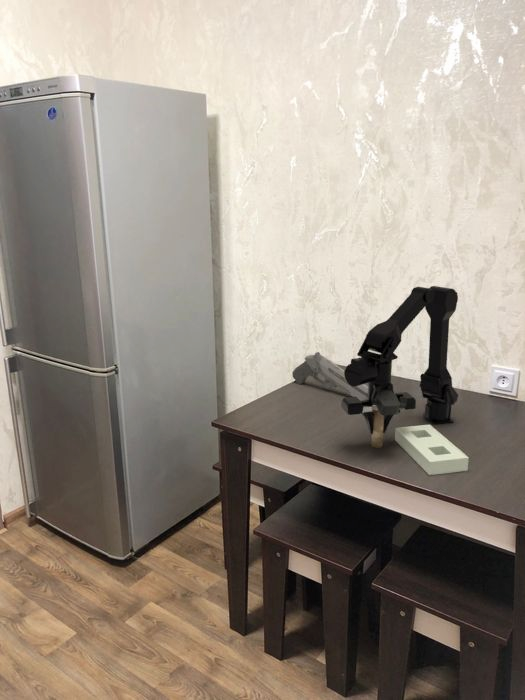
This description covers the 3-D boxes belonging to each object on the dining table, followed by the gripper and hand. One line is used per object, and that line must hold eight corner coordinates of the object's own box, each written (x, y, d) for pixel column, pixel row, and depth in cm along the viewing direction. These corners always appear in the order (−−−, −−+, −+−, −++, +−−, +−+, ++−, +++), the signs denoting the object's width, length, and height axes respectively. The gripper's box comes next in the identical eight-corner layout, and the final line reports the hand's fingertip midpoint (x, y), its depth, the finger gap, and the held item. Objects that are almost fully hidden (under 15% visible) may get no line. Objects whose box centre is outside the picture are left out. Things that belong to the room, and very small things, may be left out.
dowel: (379, 442, 152) (381, 407, 150) (384, 447, 150) (385, 412, 147) (369, 443, 152) (370, 408, 149) (373, 448, 149) (375, 413, 146)
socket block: (394, 439, 154) (395, 428, 153) (428, 436, 156) (429, 424, 155) (429, 475, 135) (430, 462, 134) (467, 470, 137) (468, 457, 136)
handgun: (362, 425, 186) (378, 389, 179) (357, 428, 184) (372, 392, 177) (294, 376, 202) (305, 341, 195) (288, 378, 200) (300, 343, 193)
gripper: (356, 391, 136) (354, 450, 141) (427, 385, 139) (423, 442, 144) (341, 376, 147) (340, 431, 151) (408, 371, 150) (405, 425, 154)
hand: (377, 433), depth 150 cm, fingers closed on dowel, 3 cm apart
